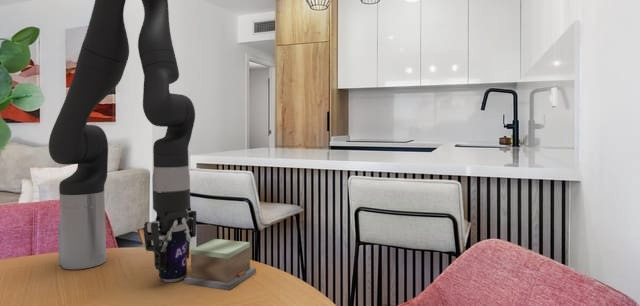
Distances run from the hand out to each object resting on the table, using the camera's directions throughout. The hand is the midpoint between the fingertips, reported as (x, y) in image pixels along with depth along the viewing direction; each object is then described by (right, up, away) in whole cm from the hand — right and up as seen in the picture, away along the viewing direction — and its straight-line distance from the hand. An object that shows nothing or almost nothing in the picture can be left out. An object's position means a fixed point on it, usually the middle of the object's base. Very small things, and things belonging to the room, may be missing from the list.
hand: (172, 263), depth 88 cm
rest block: (+10, -3, +1) cm, 11 cm away
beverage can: (0, -3, 0) cm, 3 cm away
